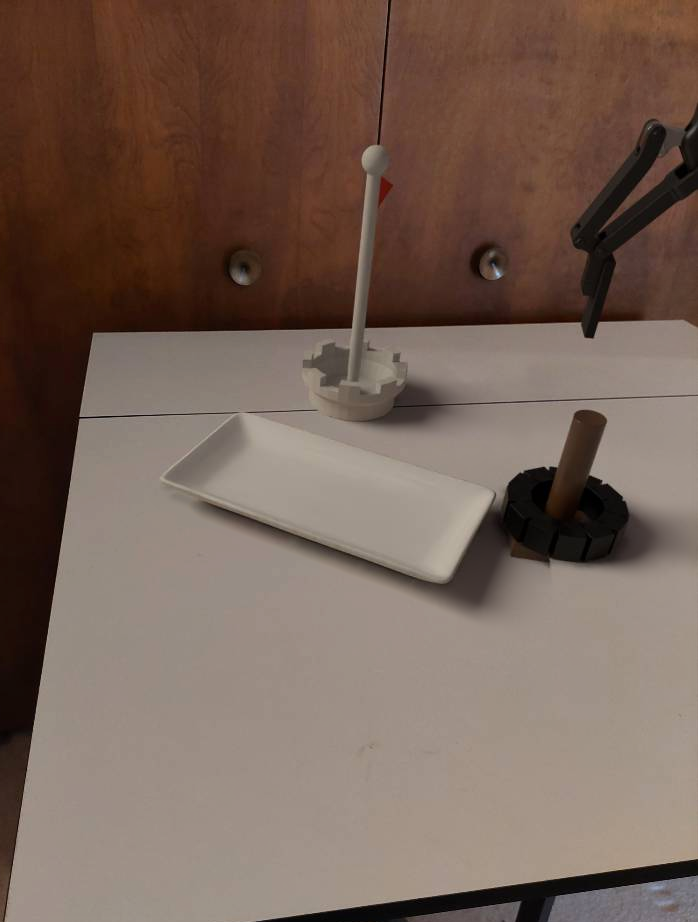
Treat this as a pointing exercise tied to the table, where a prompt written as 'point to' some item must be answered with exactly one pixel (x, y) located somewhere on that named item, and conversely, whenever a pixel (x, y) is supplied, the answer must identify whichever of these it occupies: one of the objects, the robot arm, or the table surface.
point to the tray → (336, 495)
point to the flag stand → (358, 332)
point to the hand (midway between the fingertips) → (668, 340)
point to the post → (570, 475)
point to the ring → (562, 535)
